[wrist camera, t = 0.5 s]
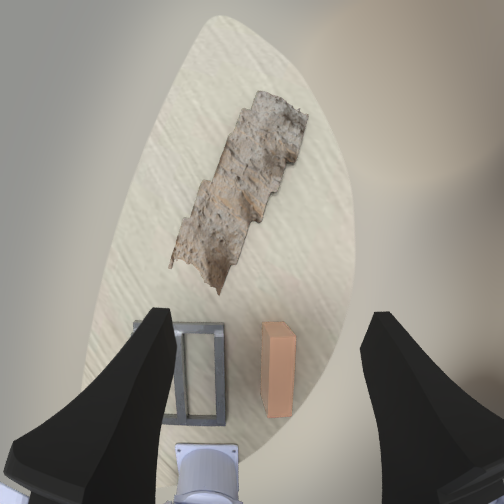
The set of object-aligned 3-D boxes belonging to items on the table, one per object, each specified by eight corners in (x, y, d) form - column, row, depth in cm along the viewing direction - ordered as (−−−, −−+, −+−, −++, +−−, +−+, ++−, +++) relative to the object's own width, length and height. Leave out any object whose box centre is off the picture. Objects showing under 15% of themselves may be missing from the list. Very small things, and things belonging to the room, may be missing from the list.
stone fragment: (308, 110, 36) (231, 85, 35) (315, 101, 33) (232, 73, 32) (248, 313, 35) (163, 287, 34) (251, 318, 33) (158, 291, 31)
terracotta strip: (281, 392, 35) (291, 416, 29) (260, 393, 35) (267, 418, 29) (283, 321, 35) (296, 336, 29) (261, 321, 35) (270, 337, 29)
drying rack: (225, 421, 35) (225, 431, 33) (145, 418, 34) (141, 427, 32) (223, 322, 34) (223, 327, 32) (135, 320, 33) (130, 325, 31)
